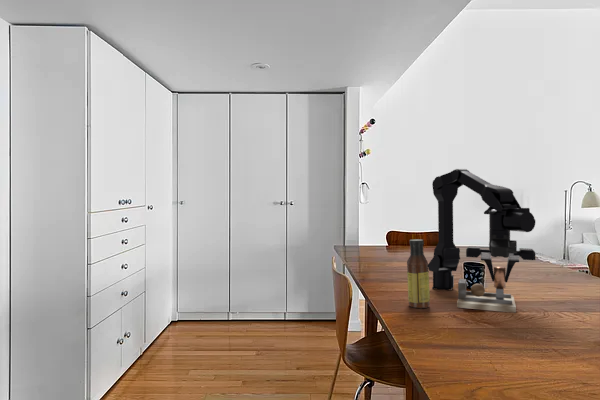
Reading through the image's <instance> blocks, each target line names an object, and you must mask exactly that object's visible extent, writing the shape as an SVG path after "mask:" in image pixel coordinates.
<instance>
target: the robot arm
mask: <svg viewBox="0 0 600 400" xmlns="http://www.w3.org/2000/svg"><path fill="white" fill-rule="evenodd" d="M463 186H465V187H467V188H468V189H469V190H471V191H473V192H474V193H476V194H478V195H479V196H480V197H481V200H482V201H483V202H484V203H485V204H486V205H487V206H488V208H487V209H486V210H485V211H483V214H484V215H489V216H488V217H489V224H488V225H489V231H488V232H489V233H488V234H489V237H488V239H489V241H488V249H487V248H486V249H485V248H484V249H483V248H482V249H481V246H473V245H471V246H470V245H469V246H467V247H466V248H465V256H466V258H478V257H480V261H482V262H483V261H484V263H485V265H486V267H487V269H488V271H489V274H490V277H491V281H492V282H493V283H494V266H493V261H492V259H493V258H499V257H502V258H506V259H507V263H506V283H508V280H509V277H510V274H511V272H512V269H513V268H514V266H515V264H516V263H520V259H522V260H523V261H524V260H525V261H536V252H535V250H534V249H533V248H522V247H521V248H519V249H518V250H517V247H518V246H517V244H518V243H517V241H518V240H513V239H512V240H511V232H520V233H521V232H522V233H530V232H532V231H533V230H534V228H535V227H536V219H535V216H534V215H533V213H532V212H530V209H531V208H530V207H522V206H521V205H520V204H519V202H518V200H517V198H516V196H515V195H514V191H513V190H512V189H511V188H508V187H505V186H503V185H502V186H501V185H497V184H493V183H490V182H488V181H487V180H485V179H483V178H481V177H479V176H477V175H476V174H474V173H472V172H470V170H468V169H467V168H455V169H453V170H451V171H450V172H447V173H444V174H442V175H439V176H436V177H435V178H434V180H432V193H433V196H434V197H435V199H436V201H437V215H438V216H437V218H438V221H437V223H438V224H437V225H438V226H437V228H438V231H437V232H438V235H437V236H438V241H437V242H438V243H437V244H436V246H435V248H434V249H433V257H432V259H430V261H429V263H428V271H429V272H432V287H431V289H432V290H443V291H444V290H445V291H452V290H453V288H454V287H455V285H454V284H455V281H454V280H455V276H454V275H453V272H457V269H458V265H459V263H460V260H461V256H460V253H461V249H460V247H457V246H456V244H455V242H454V200H455V199H456V197H457V196H458V191H459V188H461V187H463Z"/></svg>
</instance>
